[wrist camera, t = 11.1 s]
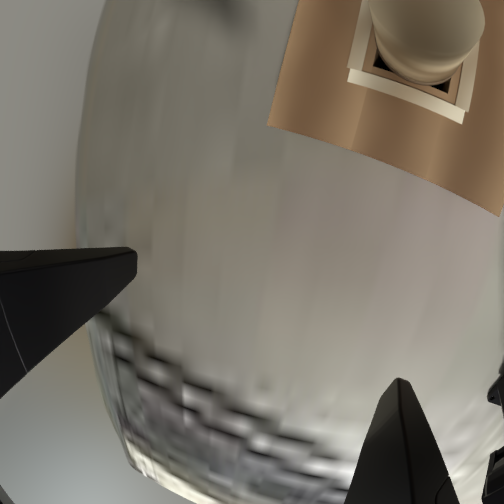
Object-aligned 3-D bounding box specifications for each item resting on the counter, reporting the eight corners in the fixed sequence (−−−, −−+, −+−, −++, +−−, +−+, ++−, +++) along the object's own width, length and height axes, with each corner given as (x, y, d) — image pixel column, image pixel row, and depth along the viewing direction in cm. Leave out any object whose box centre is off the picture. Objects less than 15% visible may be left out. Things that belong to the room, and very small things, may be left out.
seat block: (517, 24, 8) (531, 9, 5) (483, 207, 14) (499, 217, 11) (327, -38, 12) (315, -61, 10) (284, 128, 18) (266, 125, 16)
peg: (454, 45, 11) (486, -18, 4) (442, 107, 13) (480, 74, 6) (384, 21, 13) (371, -55, 6) (371, 81, 15) (355, 28, 8)
